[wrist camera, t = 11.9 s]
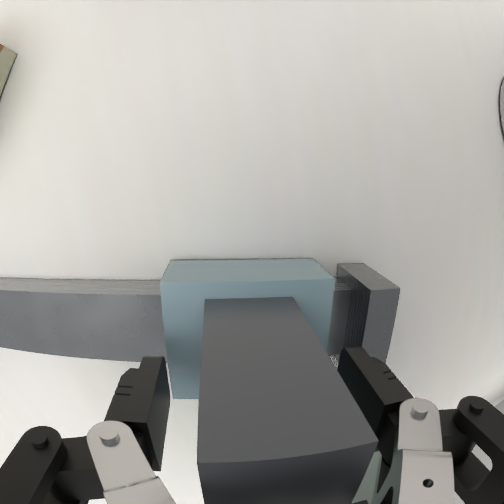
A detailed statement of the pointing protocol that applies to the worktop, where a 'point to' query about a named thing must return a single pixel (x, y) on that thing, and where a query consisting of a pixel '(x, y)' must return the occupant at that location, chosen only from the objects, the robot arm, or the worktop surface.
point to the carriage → (263, 381)
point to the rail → (151, 319)
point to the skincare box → (5, 64)
